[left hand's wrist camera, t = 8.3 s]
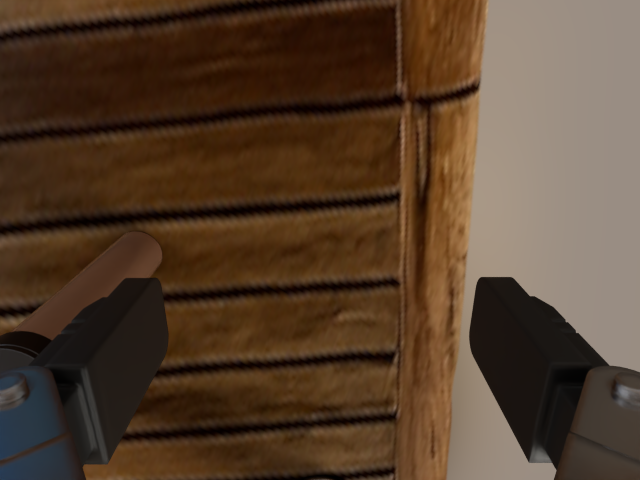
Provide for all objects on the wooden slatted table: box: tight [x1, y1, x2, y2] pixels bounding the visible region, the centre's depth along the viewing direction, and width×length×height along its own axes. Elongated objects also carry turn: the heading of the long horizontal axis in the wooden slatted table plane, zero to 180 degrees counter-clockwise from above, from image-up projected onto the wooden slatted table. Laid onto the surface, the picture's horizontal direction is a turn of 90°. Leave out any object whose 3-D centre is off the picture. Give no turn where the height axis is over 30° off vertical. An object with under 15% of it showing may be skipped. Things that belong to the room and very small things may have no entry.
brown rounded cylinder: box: [11, 231, 162, 340], centre depth 34 cm, size 4×4×18 cm
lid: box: [0, 331, 52, 372], centre depth 26 cm, size 5×5×2 cm
